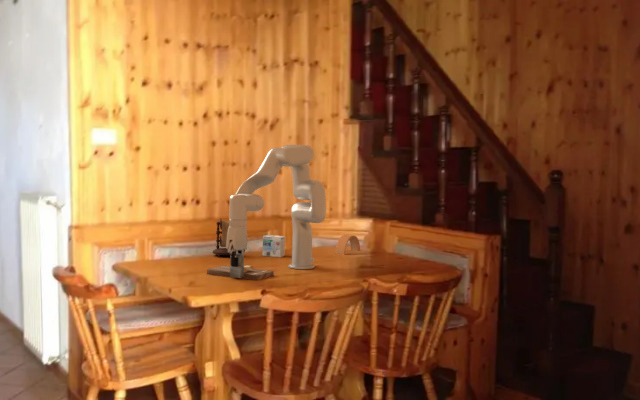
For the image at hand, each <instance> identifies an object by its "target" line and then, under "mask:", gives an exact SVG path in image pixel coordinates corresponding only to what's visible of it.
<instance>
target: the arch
mask: <svg viewBox="0 0 640 400" xmlns="http://www.w3.org/2000/svg"><path fill="white" fill-rule="evenodd" d="M348 242H349V244H350V251H353V250H357V251H356V252H360V251H361V245H360V240H359V238H358V237H357V236H356V235H352V234H342V235H341V236H340V237H339V238H338V241H337V243H336V246H335V251H334V254H335V253H336V255H342V254H346V248H347V245H348Z"/></svg>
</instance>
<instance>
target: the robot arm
mask: <svg viewBox="0 0 640 400" xmlns="http://www.w3.org/2000/svg"><path fill="white" fill-rule="evenodd" d="M314 153H315V152H314V150H313V147H311V146H309V145H307V144H285V145H283V146H281V147H273V148H271V149H270V150H269V151H268V152H267V155H266V156H265V158H264V160H263V162H262V163H261V165H260V166H259V168H258V170H257V172H255V173H254V174H252V175H251V176H250V177H248V178H247V179H245V180H244V181H243V182H242V183H241V185H240V186H239V188H238V189H237V191H236V192H235V194H231V195H230V196H229V205H228V206H229V207H228V208H229V211H228V213H229V214H228V219H229V220H228V221H229V227H228V232H227V241H226V247H225V248H226V249H227V250H228V253H230V255H229V257H230V256H231V266H233V267H238V257H237V254H238V253H240V254H244V255H245V252H246V250H247V249H248V229H247V227H248V226H247V225H248V212H259V211H261V210H262V209H263V208H264V206H265V200H264V198H263V197H262V196H261V195H260V194H255V193H254V192H255V191H257V190H259V189H262V188H263V187H266V186H268V185H271V184H273V183H274V181H275V180H276V178H277V176H278V174H279V173H280V171H281V169H282V167H290V170H291V176H292V177H291V178H292V190H293V195H294V198H295V199H297V200H305V201H298V202H295V203H294V204H293V205H292V206H291V209H290V214H291V215H290V216H291V217H290V218H291V221H292V239H291V240H292V243H291V263H289V264H288V268H290V269H296V270H312V269H315V264H313V263H312V262H315V258H314V257H313V256H312V255H313V229H312V226H311V224H320V223H323V222H324V221H325V218H326V216H327V204H326V188H325V186H324V184H323V183H322V182H321V181H319V180H316V179H315V180H314V179H313V180H312V179H311V172H310V166H309V163H311V161H312V160H313V159H314V155H315V154H314ZM306 201H308V202H306ZM309 201H310V202H309ZM233 249H234V250H233ZM233 251H235V253H234V252H233Z"/></svg>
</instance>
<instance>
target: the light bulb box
mask: <svg viewBox="0 0 640 400" xmlns="http://www.w3.org/2000/svg"><path fill="white" fill-rule="evenodd" d="M285 249H286V236H285V235H272V234H266V235H263V236H262V256H264V257H272V258H274V257H275V258H282V257H284V256H286V255H285V253H286V250H285Z"/></svg>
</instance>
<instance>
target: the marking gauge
mask: <svg viewBox="0 0 640 400" xmlns="http://www.w3.org/2000/svg"><path fill="white" fill-rule="evenodd" d="M229 257H230V262H229V264H230V265H229V266H230V278H235V277H236V279H242V278H241V277H244V272H248V271H251V270H253V269H254V268H253V265H249V264H248V265H245V253H244V254H240V253H238V254H237V257H238V267H233V266H231V256H230V255H229Z"/></svg>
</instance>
